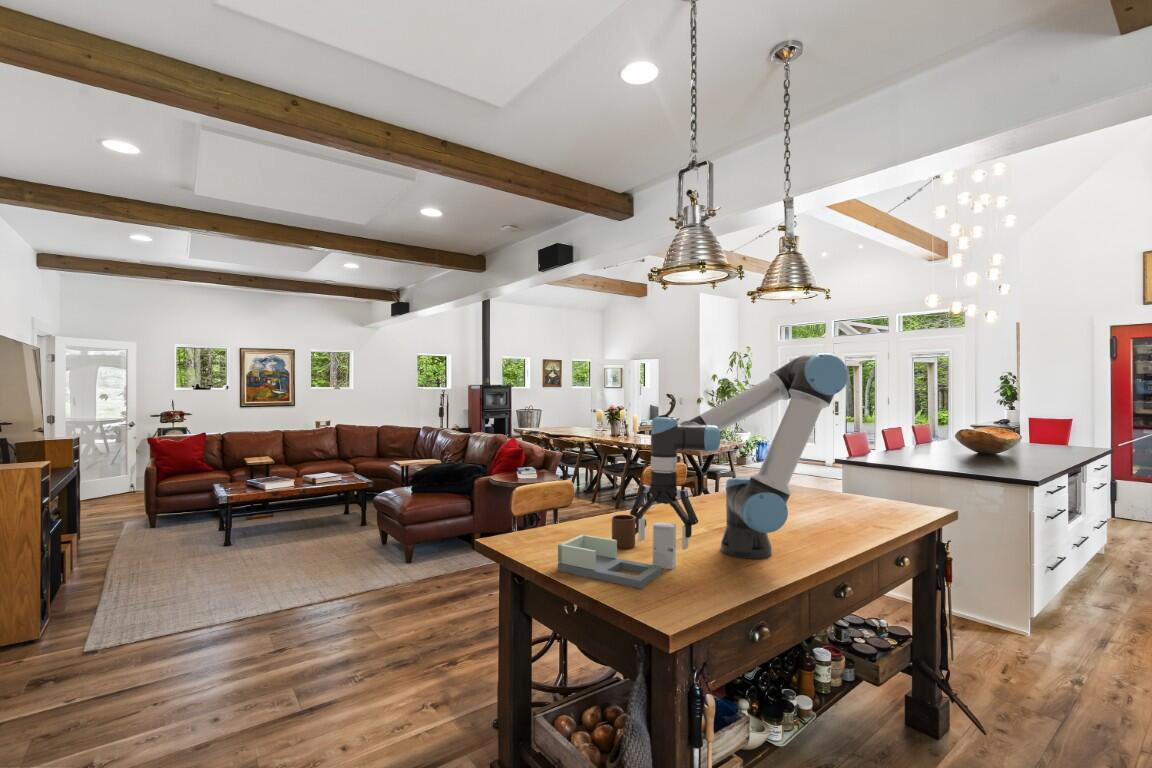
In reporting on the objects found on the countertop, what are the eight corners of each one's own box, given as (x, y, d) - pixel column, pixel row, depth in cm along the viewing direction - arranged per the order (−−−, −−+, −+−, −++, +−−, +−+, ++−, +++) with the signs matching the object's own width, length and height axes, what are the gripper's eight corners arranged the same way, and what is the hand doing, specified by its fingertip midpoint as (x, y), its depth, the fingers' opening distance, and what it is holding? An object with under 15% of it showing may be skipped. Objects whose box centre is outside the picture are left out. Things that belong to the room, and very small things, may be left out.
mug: (641, 540, 183) (641, 512, 183) (651, 546, 176) (651, 517, 176) (608, 544, 180) (608, 515, 180) (617, 550, 172) (617, 520, 172)
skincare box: (652, 567, 156) (651, 525, 156) (655, 562, 160) (655, 521, 160) (673, 569, 154) (673, 527, 154) (676, 565, 158) (676, 523, 158)
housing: (617, 557, 158) (616, 540, 158) (594, 569, 147) (594, 551, 147) (582, 550, 165) (582, 534, 165) (557, 562, 154) (557, 544, 154)
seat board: (661, 573, 151) (661, 566, 151) (640, 588, 140) (640, 580, 140) (582, 558, 165) (582, 551, 165) (557, 570, 154) (557, 563, 154)
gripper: (710, 473, 154) (709, 548, 154) (631, 465, 167) (630, 534, 167) (700, 476, 147) (699, 555, 147) (619, 468, 161) (618, 540, 161)
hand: (662, 544), depth 157 cm, fingers open, 13 cm apart
